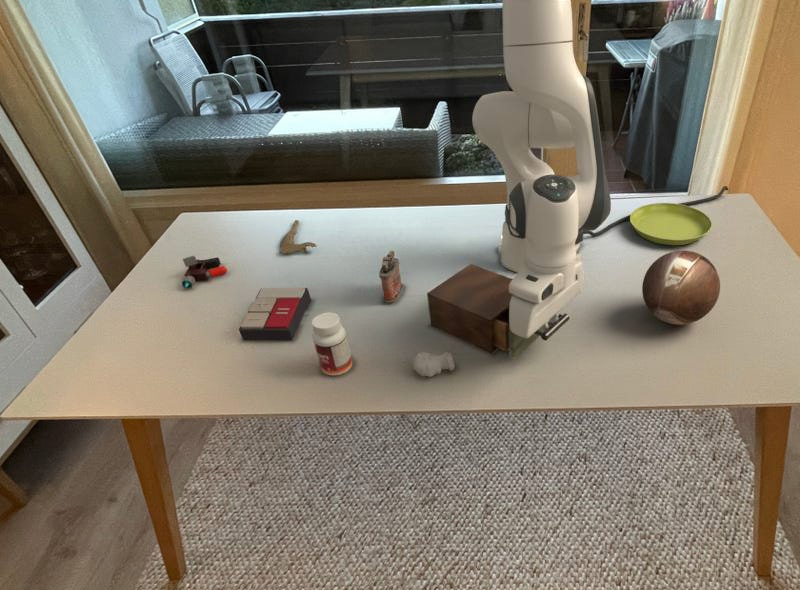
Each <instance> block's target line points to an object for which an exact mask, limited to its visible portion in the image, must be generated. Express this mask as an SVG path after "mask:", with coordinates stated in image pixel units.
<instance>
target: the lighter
mask: <svg viewBox="0 0 800 590" xmlns="http://www.w3.org/2000/svg"><path fill="white" fill-rule="evenodd" d="M395 252H396V251H394V250H393V249H392V250H389V251H388V253H387V255H386V256H383V258H382V263H381V267H380V269H379V273H378V275H379V279H380V281H381V287H382V293H383V303H384V304H385V305H393V304H395V303H396V302H397V301H398V300H399V298H400V297H401V295H402V293H403V290H404V286H403V283H402V278H401V277H402V276H401V270H400V259H399V258H397V257H395V256H396V254H395Z"/></svg>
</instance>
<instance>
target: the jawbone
mask: <svg viewBox="0 0 800 590" xmlns="http://www.w3.org/2000/svg"><path fill="white" fill-rule="evenodd" d="M299 224H300V221H299V220H298V219H295V220H294V221H293V225H292V228H291V229H290V230H289V231H288V232H287V233H286V234H284V236H283V237H282V239H281V242H280V249H279V254H281V255H289V254H291V253H296V252H304V253H305V254H308V249H307V247H310V248H317V247H318V246H317V244H316V243H314V242H312V241H306V242H301V243H295V236H296V234H297V233H298V231H297V229H298V227H299Z"/></svg>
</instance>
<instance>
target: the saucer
mask: <svg viewBox="0 0 800 590" xmlns="http://www.w3.org/2000/svg"><path fill="white" fill-rule="evenodd" d="M629 215H630V219H629V221H630V224H631V227H632V228H633V229H634V231H636V232H637V233H638V234H639V235H640V236H641V237H642V238H643V239H645V240H647V241H649V242H652V243H654V244H658V245H663V246H684V245H688V244H691V243H695V242H696V241H699V240H700V239H702V238H703V237H704V236H706V235H708V233H709V232H710V231H711V230H712V227H713V222H712V219H711V218H710V217H709V216H708V215H707V214H706V213H705V212H703V211H702V210H700V209H697V208H696V207H692V206H690V205H681V204H679V203H673V202H656V203H649V204H644V205H642V206H639V207H637V208H636V209H634V210H633V211H632V212H631V213H630V214H629Z"/></svg>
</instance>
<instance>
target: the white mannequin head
mask: <svg viewBox="0 0 800 590" xmlns="http://www.w3.org/2000/svg"><path fill="white" fill-rule="evenodd" d="M413 368H414V370H415V371H416V373H417V374H418V375H420V376H422V377H429V378H432V377H433V376H435V375H440V374H441V372H442V370H449V371H450V372H452V371H453V370H455V362H454V357H453V354H452V353H449V352H445V353H444V354H440V355H439V354H438V355H434V354H432V353H428V352H421V353H418V354H416V356H415V357H414V358H413Z"/></svg>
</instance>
